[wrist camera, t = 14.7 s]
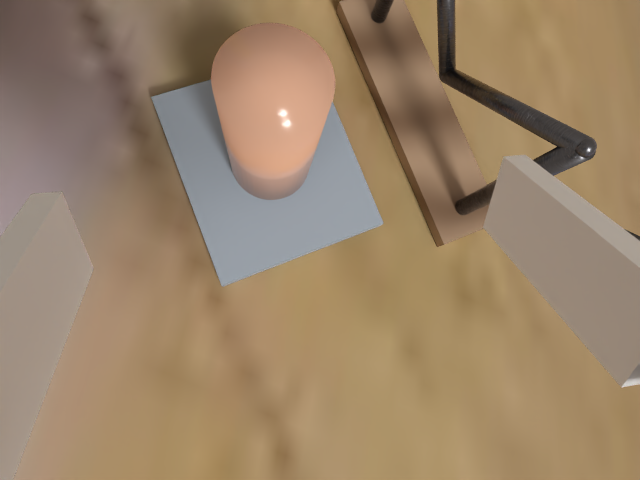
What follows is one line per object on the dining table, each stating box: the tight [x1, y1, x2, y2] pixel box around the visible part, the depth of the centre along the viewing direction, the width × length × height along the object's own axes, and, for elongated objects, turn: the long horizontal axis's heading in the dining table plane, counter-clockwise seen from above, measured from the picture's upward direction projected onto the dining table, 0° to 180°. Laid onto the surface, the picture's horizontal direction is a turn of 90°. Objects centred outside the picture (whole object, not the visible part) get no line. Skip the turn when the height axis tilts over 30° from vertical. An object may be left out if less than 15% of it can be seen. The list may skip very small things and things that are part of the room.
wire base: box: [337, 0, 490, 247], centre depth 32 cm, size 20×5×1 cm, turn 22°
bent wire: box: [371, 0, 597, 215], centre depth 25 cm, size 17×1×12 cm, turn 22°
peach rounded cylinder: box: [211, 23, 335, 200], centre depth 24 cm, size 6×6×11 cm
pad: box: [151, 80, 383, 286], centre depth 30 cm, size 14×12×1 cm
